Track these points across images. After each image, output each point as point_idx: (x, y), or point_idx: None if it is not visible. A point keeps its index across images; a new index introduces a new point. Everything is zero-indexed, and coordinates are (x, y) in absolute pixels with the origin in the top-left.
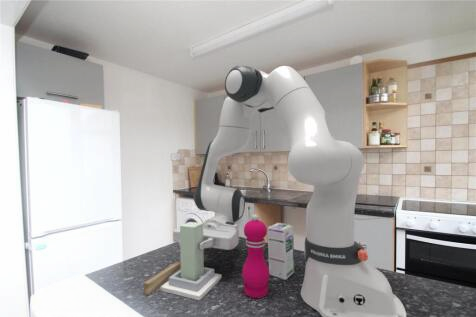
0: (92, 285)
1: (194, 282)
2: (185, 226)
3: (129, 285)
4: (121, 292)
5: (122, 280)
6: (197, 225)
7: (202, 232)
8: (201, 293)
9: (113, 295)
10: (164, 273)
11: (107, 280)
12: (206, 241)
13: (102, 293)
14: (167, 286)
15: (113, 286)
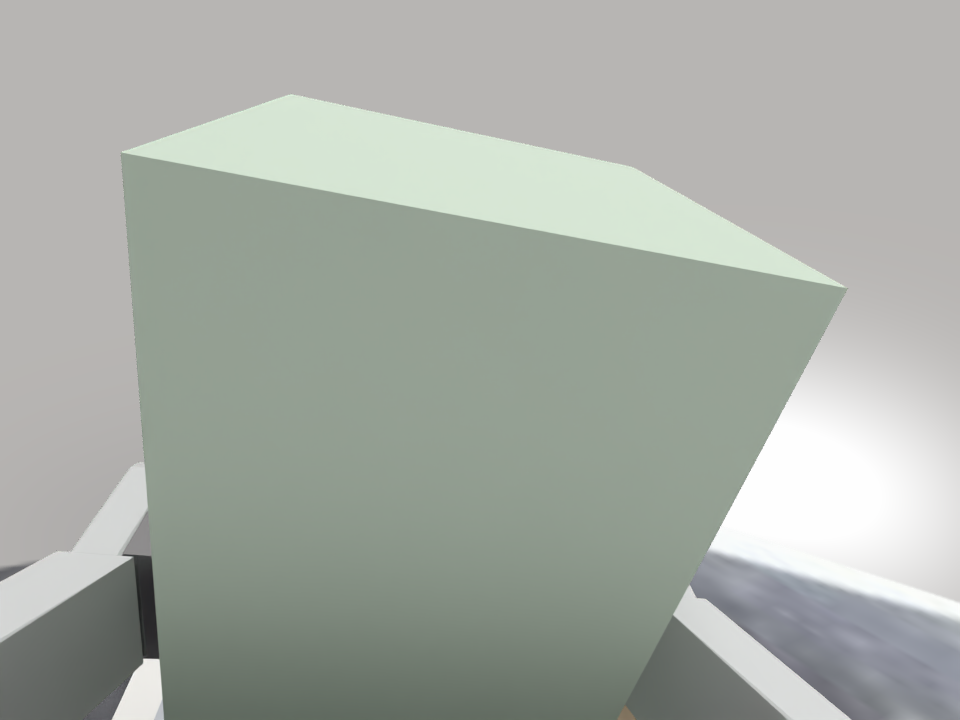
0: (918, 591)
1: None
2: (510, 141)
3: (782, 657)
4: (720, 582)
5: (899, 695)
6: (273, 113)
7: (167, 471)
8: (142, 673)
9: (717, 551)
10: (634, 717)
11: (955, 660)
12: (26, 571)
13: (779, 550)
14: None
15: (833, 616)
